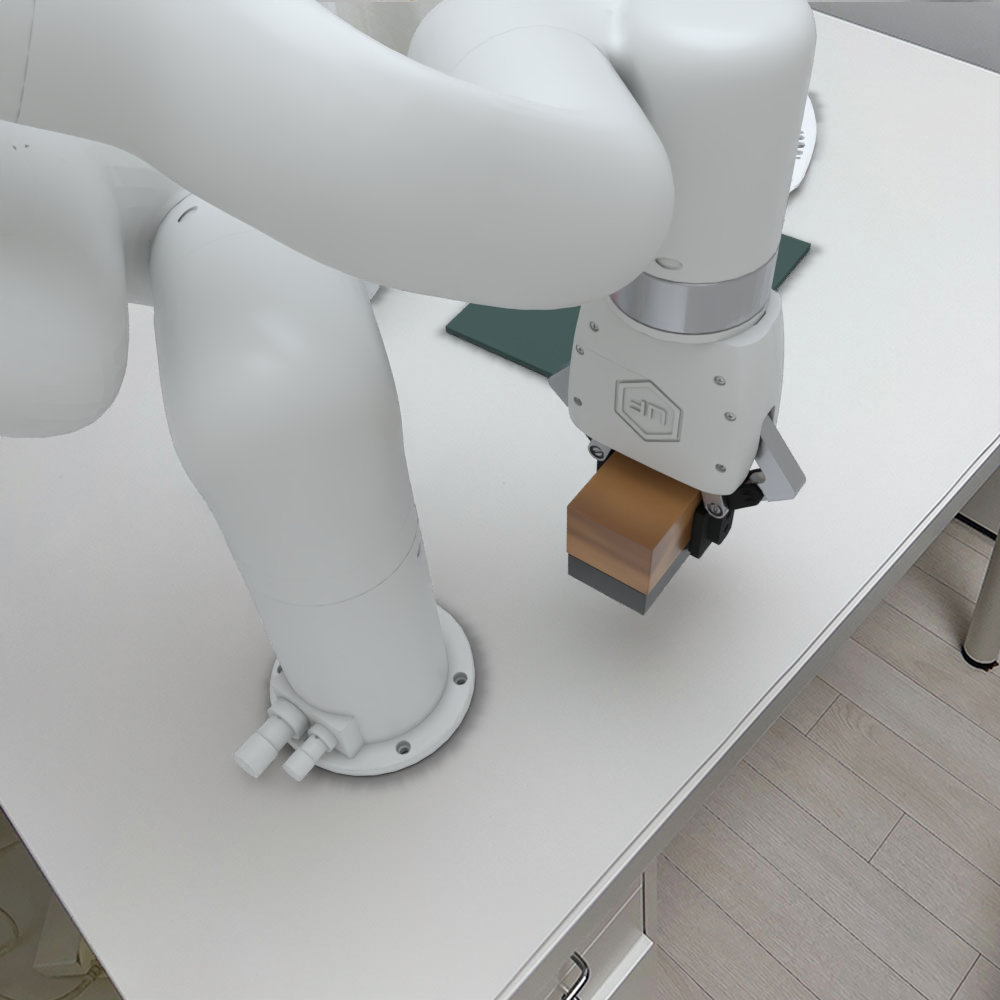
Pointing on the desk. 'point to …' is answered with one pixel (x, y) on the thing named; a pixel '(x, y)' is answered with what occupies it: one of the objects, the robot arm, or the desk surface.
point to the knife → (808, 142)
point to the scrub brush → (630, 531)
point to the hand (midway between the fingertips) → (661, 515)
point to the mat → (560, 322)
